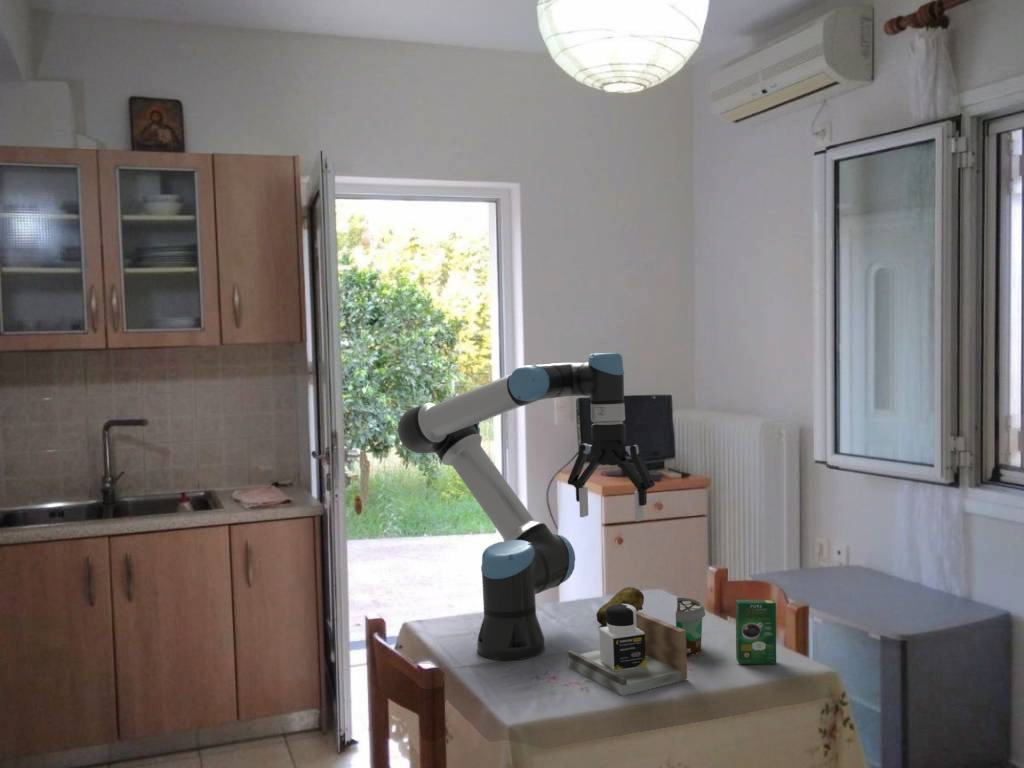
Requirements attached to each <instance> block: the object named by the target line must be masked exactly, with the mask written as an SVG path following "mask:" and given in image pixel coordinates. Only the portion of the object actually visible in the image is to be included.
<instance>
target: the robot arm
mask: <svg viewBox="0 0 1024 768" xmlns="http://www.w3.org/2000/svg"><path fill="white" fill-rule="evenodd" d="M624 376H625V371H624V361H623V355H622V354H621V353H620V352H607V353H606V352H603V353H602V352H601V353H590V355H589V356H588V361H587V362H553V363H549V364H548V363H547V364H527V365H523V366H519V367H517V368H516V369H514V370H513V371H512V373H510V374H508V375H505V376H502V377H501V378H497V379H496V380H493V381H490V382H488V383H486V384H483V385H481V386H478V387H475V388H473V389H471V390H468V391H465V392H463V393H461V394H458V395H455V396H453V397H450V398H447V399H445V400H443V401H440V402H438V403H436V404H434V403H432V402H427V403H424V404H422V405H420V406H419V405H418V406H415V407H412V408H410V409H407V411H405V412H404V413H403V415H402V416H401V418H400V419H399V422H398V425H397V435H398V437H399V440H400V442H401V444H402V445H403V446H404V447H405V448H406V449H407V450H408V451H410V452H412V453H416V454H430V453H435V454H436V456H437V457H438V458H439V460H440V461H441V462H442V464H443V465H445V466H451V467H453V469H454V471H456V473H457V474H458V476H459V477H460V479H461V480H462V482H463V483H464V484H465V486H466V488H467V489H468V491H470V493H471V495H472V496H473V498H475V500H476V501H477V504H479V506H480V507H481V509H482V510H483V512H484V513H485V514H486V516H487V517H488V518H489V520H490V521H491V523H492V524H493V526H494V527H495V529H496V530H497V532H498V533H499V534H500V536H501V537H502V539H503V540H504V541H499V542H496V543H493V544H491V545H489V546H488V547H486V548H485V549H484V550H483V552H482V554H481V555H482V556H481V566H480V569H481V578H482V579H481V580H482V598H483V600H482V601H483V602H482V603H483V619H482V622H481V626H480V630H479V633H478V637H477V641H476V642H477V643H476V646H477V653H478V652H479V653H480V654H479V653H478V654H479V655H481V654H482V655H484V656H483V657H485V656H486V657H485V658H489V659H491V660H501V661H502V660H503V661H504V660H505V661H508V660H509V661H511V660H512V661H513V660H514V661H515V660H522V659H523V660H524V659H528V658H531V657H534V656H538V655H540V654H541V653H543V652H544V651H545V649H546V640H545V638H546V637H545V636H544V633H543V630H542V627H541V624H540V622H539V619H538V616H537V609H536V607H537V605H536V595H537V594H539V593H542V592H545V591H547V590H549V589H553V588H556V587H559V586H561V584H563V583H565V582H566V581H568V580H569V578H570V577H571V576H572V575H573V572H574V570H575V565H576V564H575V562H576V554H575V550H574V548H573V546H572V544H571V542H570V541H569V540H568V539H567V538H566V537H565V536H564V535H562V534H561V535H560V534H558V533H552V531H551V530H550V528H549V527H548V526H547V524H546V523H545V522H543V521H537V520H535V519H534V517H533V516H532V515H531V513H530V512H529V511H528V509H527V508H526V506H525V504H523V502H522V501H521V500H520V498H519V497H518V496H517V494H516V493H515V491H514V490H513V489H512V487H511V486H510V484H509V483H508V482H507V480H506V479H505V477H504V476H503V475H502V473H501V472H500V471H499V469H498V468H497V466H496V465H495V463H494V462H493V460H492V459H491V458H490V456H489V455H488V454H487V452H486V451H485V450H484V448H483V447H482V445H481V444H482V441H483V437H482V435H481V434H480V433H481V428H480V427H479V425H480V423H481V422H484V421H487V420H489V419H491V418H494V417H496V416H500V415H502V414H504V413H507V412H510V411H512V410H516V409H517V408H520V407H524V406H526V405H529V404H532V403H535V402H537V401H542V400H546V399H553V398H554V399H555V398H563V397H581V396H582V397H584V396H585V397H589V400H590V401H589V403H590V421H591V422H593V423H592V424H591V426H590V427H591V430H590V431H591V435H590V436H591V441H592V442H591V444H589V443H586V442H585V443H581V444H579V446H578V454H577V457H576V459H575V462H574V464H573V467H572V469H571V472H570V474H569V476H568V479H567V484H568V485H572V486H573V487H574V488H575V500H576V502H577V503H578V504H579V517H580V518H586V517H588V516H589V494H588V493H589V491H588V489H589V488H588V486H586V483H587V482H588V481H589V479H590V478H591V476H592V475H593V474H594V473H595V472H596V469H598V467H599V466H606V465H609V466H618V468H620V469H621V470H622V471H623V473H624V474H625V475H626V477H627V478H628V479H629V481H630V482H631V484H633V485H634V487H635V488H636V489H637V490H635V491H633V492H634V495H633V497H634V519H635V521H634V522H641V521H642V520H644V517H645V515H644V506H647V504H648V501H647V499H648V498H647V497H648V496H647V491H648V490H649V489H652V488H654V487H655V485H656V484H655V481H654V479H653V477H652V474H651V473H650V471H649V469H648V467H647V465H646V463H645V461H644V458H643V457H642V455H641V448H640V445H639V444H634V445H627V443H626V438H627V435H626V424H625V423H624V421H625V420H626V412H625V409H626V408H625V391H624V390H625V384H624V383H625V382H624V381H625V379H624V378H625V377H624ZM590 453H592V454H593V458H592V459H590V462H589V463H588V466H586V467H585V469H584V470H583V468H584V466H585V463H586V461H587V459H588V456H589V455H590ZM626 454H628V455H629V456H630V458H631V460H632V462H633V464H634V467H635V469H636V470H637V471H636V470H635V469H634V467H633V466H632V465H631V463H630V461H629V459H628V458H627V456H626ZM582 470H583V472H582ZM637 472H638V473H637ZM482 655H481V656H482Z"/></svg>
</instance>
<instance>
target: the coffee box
mask: <svg viewBox="0 0 1024 768" xmlns="http://www.w3.org/2000/svg"><path fill="white" fill-rule="evenodd" d="M735 645H736V646H735V656H736V662H737V661H738V663H739V664H738V663H737V664H738V665H746V664H749V665H777V602H775V601H774V600H773V599H736V600H735Z"/></svg>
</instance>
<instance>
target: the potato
mask: <svg viewBox="0 0 1024 768" xmlns="http://www.w3.org/2000/svg"><path fill="white" fill-rule="evenodd" d="M644 603H645V596H644V593H643V592H642V591H641V590H640V589H639V588H636V587H632V586H628V587H623V588H622V589H621V590H620V591H617V593H616V594H614V596H613V597H611V598H610V600H609V601H608V602H606V603H605V604H603V605H602V606H601V607H600V608H599V609H598V610H597V612H596V620H597V622H598V623H599V624H600V625H603V626H602V627H607V615H606V609H607V608H608V607H609V606H611V605H614V604H628V605H631V606H633V607H635V609H636V611H639V612H640V611H643V609H644V608H643V606H644Z"/></svg>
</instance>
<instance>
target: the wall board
mask: <svg viewBox="0 0 1024 768" xmlns="http://www.w3.org/2000/svg"><path fill="white" fill-rule="evenodd" d="M636 622H637V626H636V628H638V629H640V630H641V631H643V632H644V633H645V649H646V666H645V667H641V668H635V669H628V670H622V671H616V672H615V671H613V670H612V669H611V668H609V667H608V666H607V665H605V664H604V663H603V662H601V660H600V649H599V650H598V649H597V650H594V651H588V652H584V653H579V652H576V651H574V650H568V651H567V659H568V661H567V663H568V664H567V665H568V667H569V668H571V669H573V670H575V671H577V672H578V673H580V674H582V675H584V676H586V677H587V678H589V679H591V680H593V681H595V682H596V681H597V682H596V683H598V684H601V685H602V686H604V687H606V688H607V689H609V690H611V691H612V692H615V693H617V694H619V695H620V696H623V697H624V696H629V695H632V694H637V693H640V692H644V690H645V691H649V690H653V689H656V687H657V688H660V686H661V687H664V685H665V686H668V684H669V685H672V683H673V684H676V683H675V682H677V683H680V682H679V681H681V682H684V681H683V680H685V681H687V680H688V659H687V657H688V656H687V653H686V630H684V629H681V628H679V627H676V625H673V624H671V623H669V622H666V621H664V620H661V619H659V618H655V617H653V616H651V615H649V614H645V613H644V612H642V611H640V610H639V611H636ZM686 679H687V680H686ZM652 688H653V689H652ZM648 689H649V690H648Z"/></svg>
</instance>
